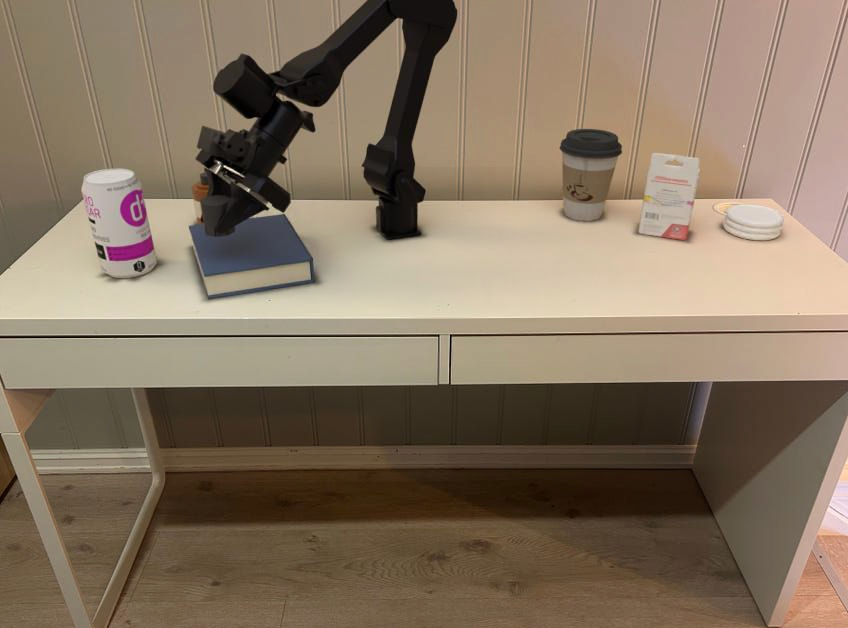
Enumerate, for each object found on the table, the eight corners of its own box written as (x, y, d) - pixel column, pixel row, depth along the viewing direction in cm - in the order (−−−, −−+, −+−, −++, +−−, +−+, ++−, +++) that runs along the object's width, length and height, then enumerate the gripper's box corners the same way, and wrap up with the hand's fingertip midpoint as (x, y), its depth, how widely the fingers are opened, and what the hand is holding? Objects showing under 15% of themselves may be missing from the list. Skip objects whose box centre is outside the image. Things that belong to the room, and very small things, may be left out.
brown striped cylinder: (228, 215, 136) (221, 167, 131) (233, 227, 131) (226, 177, 126) (195, 219, 134) (187, 171, 129) (199, 231, 129) (191, 181, 124)
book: (286, 235, 128) (284, 213, 126) (315, 282, 113) (313, 258, 111) (192, 248, 123) (188, 225, 121) (208, 299, 108) (204, 274, 105)
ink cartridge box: (688, 231, 134) (705, 151, 126) (685, 241, 130) (702, 159, 122) (641, 224, 136) (654, 145, 129) (636, 233, 132) (650, 152, 125)
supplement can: (168, 262, 118) (150, 171, 110) (134, 283, 111) (112, 187, 103) (127, 254, 120) (106, 164, 112) (90, 275, 114) (66, 180, 106)
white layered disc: (749, 244, 129) (754, 226, 127) (711, 225, 137) (715, 207, 135) (791, 236, 133) (797, 218, 131) (751, 218, 140) (756, 200, 138)
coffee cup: (545, 219, 137) (553, 139, 130) (561, 200, 146) (569, 124, 138) (605, 229, 134) (617, 147, 126) (618, 209, 143) (629, 131, 135)
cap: (217, 224, 110) (212, 193, 108) (240, 228, 109) (236, 197, 106) (199, 234, 107) (193, 202, 104) (222, 238, 105) (218, 206, 103)
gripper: (197, 91, 106) (138, 180, 106) (261, 117, 95) (195, 217, 94) (253, 137, 115) (198, 219, 115) (318, 165, 103) (257, 257, 103)
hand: (210, 227), depth 106 cm, fingers closed on cap, 4 cm apart
